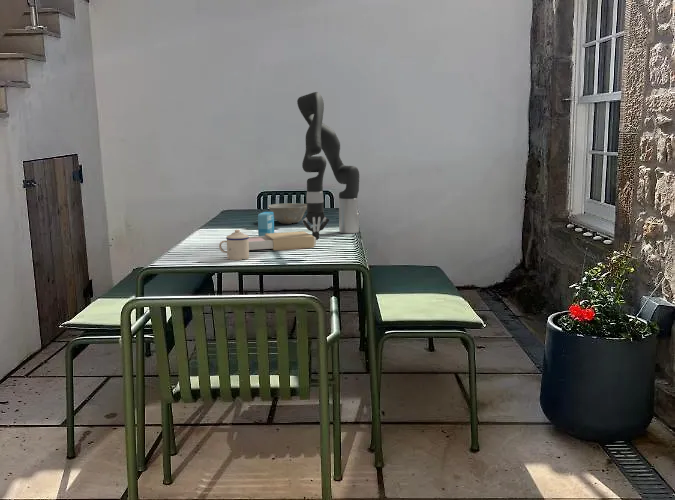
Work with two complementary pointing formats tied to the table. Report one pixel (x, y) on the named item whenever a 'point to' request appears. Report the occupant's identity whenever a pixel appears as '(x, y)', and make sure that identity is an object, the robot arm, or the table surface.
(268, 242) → the tray
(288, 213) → the ceramic bowl
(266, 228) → the data package
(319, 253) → the table surface
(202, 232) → the table surface
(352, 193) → the robot arm
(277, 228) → the table surface
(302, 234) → the mailer sleeve
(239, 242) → the teacup with lid
